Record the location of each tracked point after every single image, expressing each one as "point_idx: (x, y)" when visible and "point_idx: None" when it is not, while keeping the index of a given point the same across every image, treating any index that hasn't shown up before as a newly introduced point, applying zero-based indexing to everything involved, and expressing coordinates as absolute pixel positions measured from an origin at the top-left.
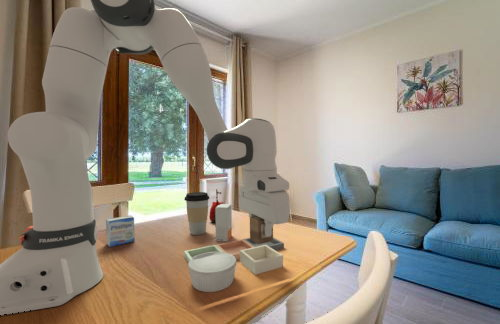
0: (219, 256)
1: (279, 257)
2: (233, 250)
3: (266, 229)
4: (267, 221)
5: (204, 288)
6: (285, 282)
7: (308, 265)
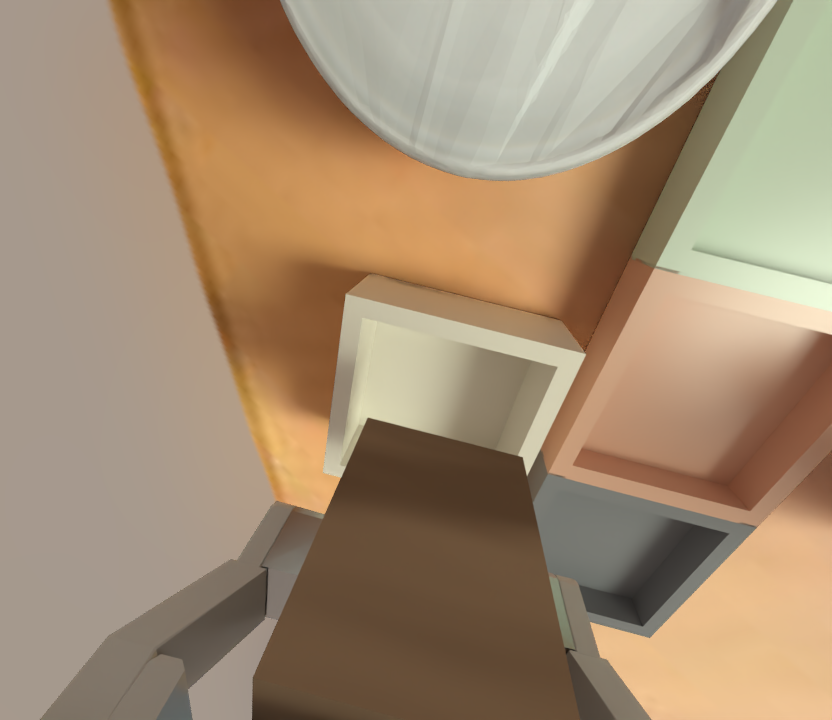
0: (583, 39)
1: (328, 448)
2: (724, 400)
3: (221, 568)
4: (62, 698)
5: None
6: (244, 341)
7: (303, 504)
